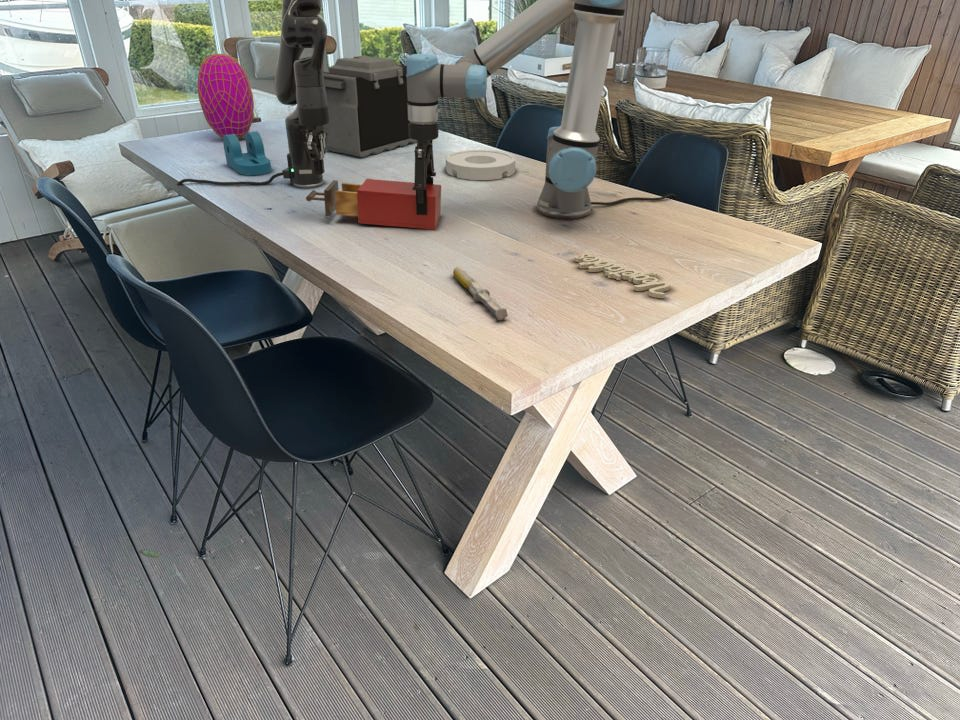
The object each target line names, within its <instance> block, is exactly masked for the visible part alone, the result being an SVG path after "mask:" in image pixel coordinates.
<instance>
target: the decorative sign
mask: <svg viewBox="0 0 960 720" xmlns="http://www.w3.org/2000/svg"><path fill="white" fill-rule="evenodd" d="M574 262H575V263H578V269H588V270H587V272H588V273H598V272H603V273H604V276H606V277H607V278H608V279H614V280H617V281H621V279H622V280H627V281H628V282H630V283H633V284H634V285H633V291H636V292H643V291H647V290H648V293H647V294H648V296H649V297H652V298H656V299H664V298H665V295H666V292H668V291H669V290H670V289H671V283H670V282H668V281H659V279H658V272H657V271H648V272H639V271H637V270H634V269H630V268H628V267H627V266H626V267H625V266H624V265H619V264H618V263H615V262H611V261H610V260H604V258H601V257H598V256H596V255H592V254H590V253H587V252H586V253H582V254H581V255H580V256H578V255H575V256H574Z"/></svg>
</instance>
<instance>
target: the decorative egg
mask: <svg viewBox="0 0 960 720" xmlns="http://www.w3.org/2000/svg"><path fill="white" fill-rule="evenodd" d="M197 94H198V101H199V104H200V107H201V110H202V113H203V116H204V119H205V120H206V122H207V124H208V126H209V127H210V128H211V130H212V131H213V132H214V133H215V134H216V135H217V136H218V137H220V138H221V139H223V137H224V135H230V134H235V135H236V136H237V138H238V140H239V139H242V138H243V137H246V133H247V132H250V129H251V126H252V124H253V119H254V111H255V110H254V108H255V107H254V106H255V101H254V95H253V91H252V87H251V84H250V81H249V78H248V75H247V74H246V71H245V69H244V68H243V66H242V65H241V64H240V63H239V62H238V60H237V59H236V58H234V57H233V56H231V55H229V54H225V53H214V54H211V55H209V56H206V57H205V59H204V60H203V61H202V63H201V64H200V67H199V70H198V74H197Z"/></svg>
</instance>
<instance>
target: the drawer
mask: <svg viewBox="0 0 960 720" xmlns="http://www.w3.org/2000/svg"><path fill="white" fill-rule="evenodd" d="M361 185H362V184H359V183H349V182H348V183H347V182H342V183H341V190H339V180H335V179H334V180H332V181H331V182H330V183H329V185H328V186H327V187H326V188H325V189H324V190H323V192H319V191H316V190H315V189H313V190H311V192H309V194H307V196H306V197H305V200H306V201H307V202H311V201H319V202H321V201H322V202H324V215H325V217H331V216H332V215H333V214H334V213H335V215H337V216H347V217H358V198H357V190H358V189H359V188H360V186H361ZM317 196H321V197H317ZM322 196H323V197H322Z"/></svg>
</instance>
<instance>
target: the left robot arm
mask: <svg viewBox="0 0 960 720" xmlns="http://www.w3.org/2000/svg"><path fill="white" fill-rule="evenodd" d="M322 2H323V0H282V2H281V3H282V4H281V21H280V22H281V23H280V25H281V27H280V38H279V50H278V56H277V62H276V67H275V74H274V92H275V96H276V98H277V100H278V102H279V103H280V104H282V105H284V106H293V105H296V107H295V108H294V110H293V112H292V113H290V114H289V115H287V116H286V117H285V120H284V123H285V131H286V138H287V146H288V153H287V154H286V161H287V167H286V168H284V169H283V170H282V171H281V172H278V173H275V174H272V176H270V178H269V179H268V180H265V181H215V180H210V179H209V180H207V179H195V178H183V179H181V180H179V181H178V182H177V184H176V186H182V185H183V184H185V183H195V184H208V185H215V186H267V185H269V184H271V183H273V181H274V179H276V178H278V177H281V176H282V177H283V179H288V180H289V184H290V186H294V187H296V188H300V189H301V188H303V189H310V188H317V187H320V186H322V185H324V184H325V182H324V175H323V174H325V162H324V158H325V155H326V154H327V150H326V146H327V136H328V134H327V132H325V131H324V127H323V126H324V125H327V124H328V123H329V112H328V102H327V93H326V89H325V82H324V72H325V71H324V59H325V50H326V44H327V40H328V39H327V38H328V27H327V24H326V22H325V20H324V19H323V17H321V16H320V13H321V11H322ZM305 49H312V53H311V55H309V56H307V57H302V58H301V56H302V54H303V52H304V50H305Z"/></svg>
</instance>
